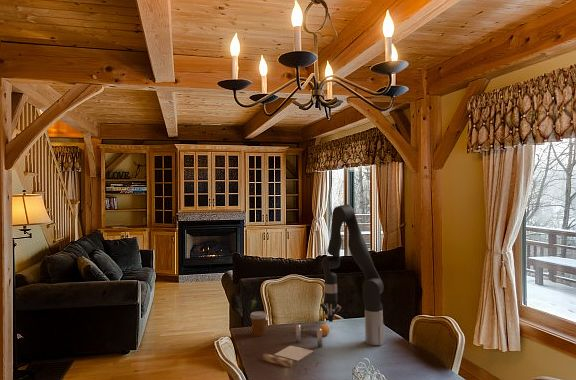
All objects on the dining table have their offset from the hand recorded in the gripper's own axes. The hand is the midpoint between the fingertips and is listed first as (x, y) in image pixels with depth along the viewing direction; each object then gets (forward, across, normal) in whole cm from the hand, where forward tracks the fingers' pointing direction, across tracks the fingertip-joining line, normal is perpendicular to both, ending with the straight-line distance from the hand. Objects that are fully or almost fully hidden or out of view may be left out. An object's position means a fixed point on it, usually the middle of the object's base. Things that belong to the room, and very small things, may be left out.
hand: (330, 321), depth 234 cm
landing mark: (+5, 0, -39) cm, 39 cm away
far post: (+6, -6, -25) cm, 26 cm away
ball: (+2, 0, -9) cm, 9 cm away
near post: (+5, +7, -25) cm, 26 cm away
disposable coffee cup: (+6, -32, -26) cm, 42 cm away
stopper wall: (+5, 0, -53) cm, 53 cm away
